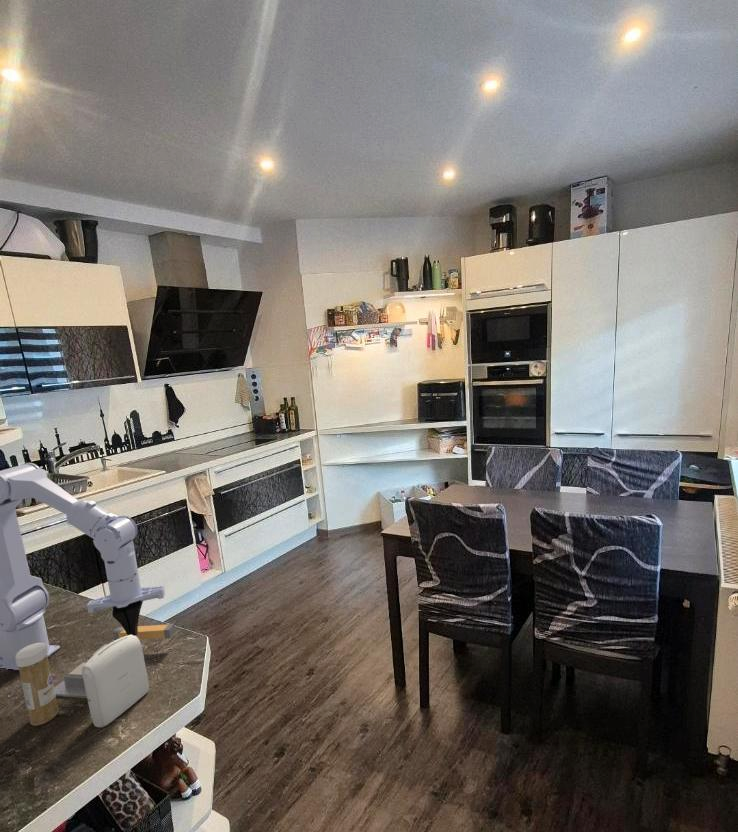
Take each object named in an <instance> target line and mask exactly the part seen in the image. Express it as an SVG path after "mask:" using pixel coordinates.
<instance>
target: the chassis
mask: <svg viewBox="0 0 738 832" xmlns="http://www.w3.org/2000/svg"><path fill="white" fill-rule="evenodd" d="M110 643H111V642H105V643H104V644H102V645H101V646H100V647H99V648H97V649H96V650H95V651H94V652H93V653H91V654H90V655H89V656H88V657H87V660H83V661H81V662H80V663H78V665H77V666H75V667H74V668H73V669H72V670H70V672H68V673H67V674H66V675H64V676H63V680H62V681H61V682H60V683H58V684H57V685H56V686H54V688H55V693H56V695H55V696H56V697H62V698H63V697H65V698H79V699H87V694H86V690H85V685H84V680H83V676H82V668H83V666H84V665H85V664H86V663H87V661H88V660H89V659H90V658H91V657H92V656H94V655H95V654H96V653H97V652H98V651H100V650H101V649H102V648H104V647H105V646H107V645H108V644H110ZM141 646H142V650H143V649H144V648H145V644H141Z"/></svg>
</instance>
